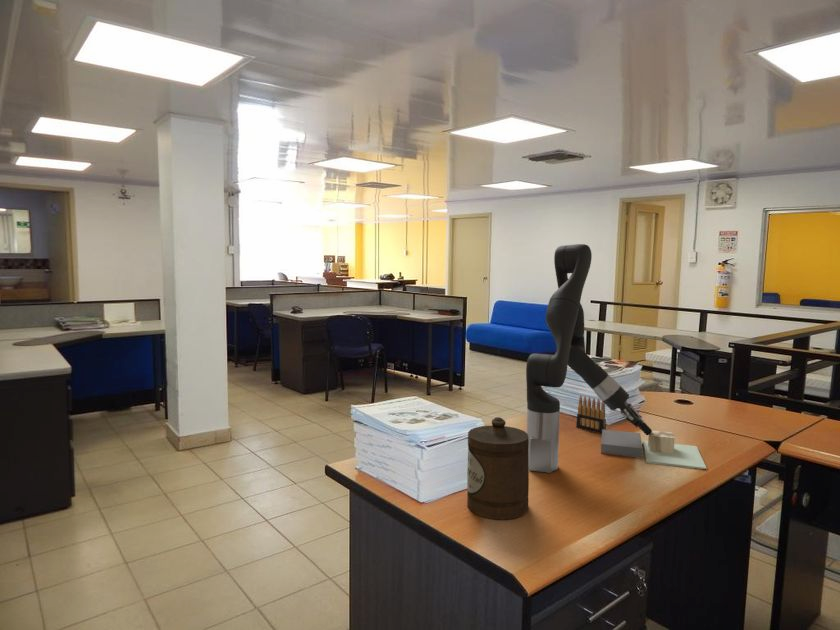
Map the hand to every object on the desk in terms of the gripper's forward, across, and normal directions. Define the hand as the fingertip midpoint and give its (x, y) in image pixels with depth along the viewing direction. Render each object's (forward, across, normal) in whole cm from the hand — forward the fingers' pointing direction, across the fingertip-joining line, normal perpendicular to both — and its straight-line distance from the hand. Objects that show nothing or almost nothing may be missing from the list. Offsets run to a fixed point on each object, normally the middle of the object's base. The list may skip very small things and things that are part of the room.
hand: (649, 433), depth 170 cm
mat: (+9, -2, -1) cm, 9 cm away
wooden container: (-23, -56, +31) cm, 68 cm away
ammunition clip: (-9, +16, +17) cm, 25 cm away
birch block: (+2, 0, +2) cm, 2 cm away
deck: (-2, 0, +10) cm, 10 cm away
